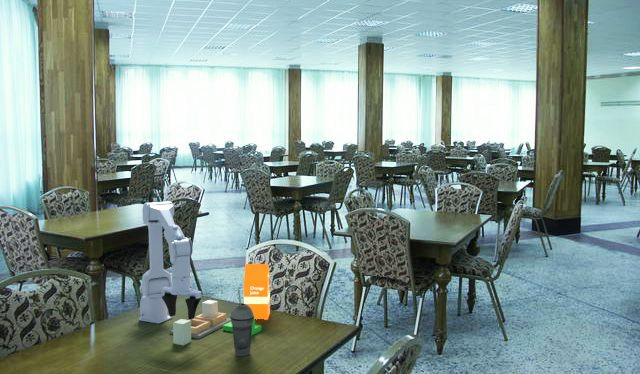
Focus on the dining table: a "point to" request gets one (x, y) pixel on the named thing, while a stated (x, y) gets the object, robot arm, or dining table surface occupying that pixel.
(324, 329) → the dining table surface
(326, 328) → the dining table surface
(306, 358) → the dining table surface
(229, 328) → the mechanical part
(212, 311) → the grey-green rectangular block
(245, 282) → the orange juice
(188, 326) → the sage block
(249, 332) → the beverage cup
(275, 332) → the dining table surface
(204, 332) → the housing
